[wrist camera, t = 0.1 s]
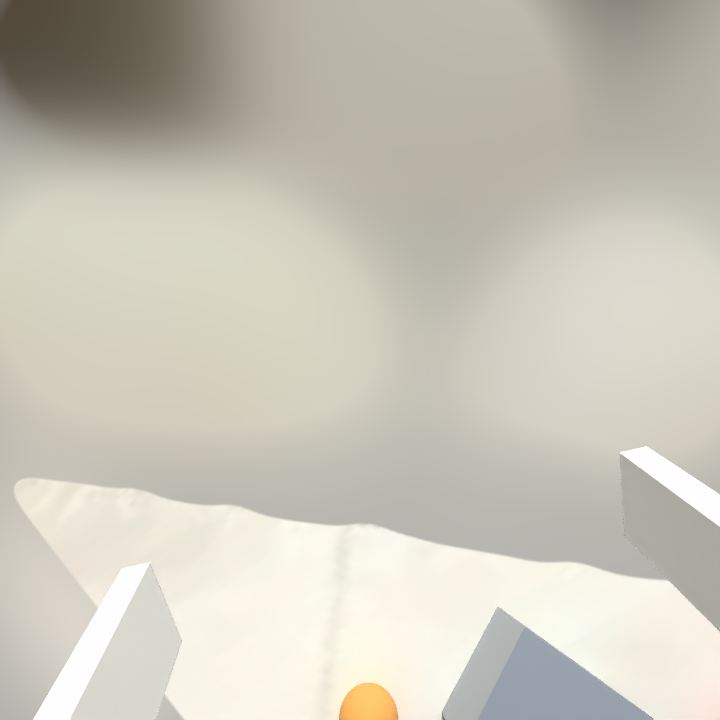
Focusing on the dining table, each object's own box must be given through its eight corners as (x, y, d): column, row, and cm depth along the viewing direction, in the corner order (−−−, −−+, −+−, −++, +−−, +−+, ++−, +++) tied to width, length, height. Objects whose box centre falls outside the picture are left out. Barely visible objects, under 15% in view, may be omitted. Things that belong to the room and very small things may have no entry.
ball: (408, 711, 41) (412, 736, 37) (366, 755, 40) (364, 786, 36) (372, 662, 43) (370, 679, 38) (330, 703, 42) (323, 726, 37)
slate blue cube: (599, 679, 41) (653, 718, 33) (546, 795, 39) (591, 869, 31) (497, 606, 44) (524, 626, 35) (442, 712, 41) (456, 760, 33)
